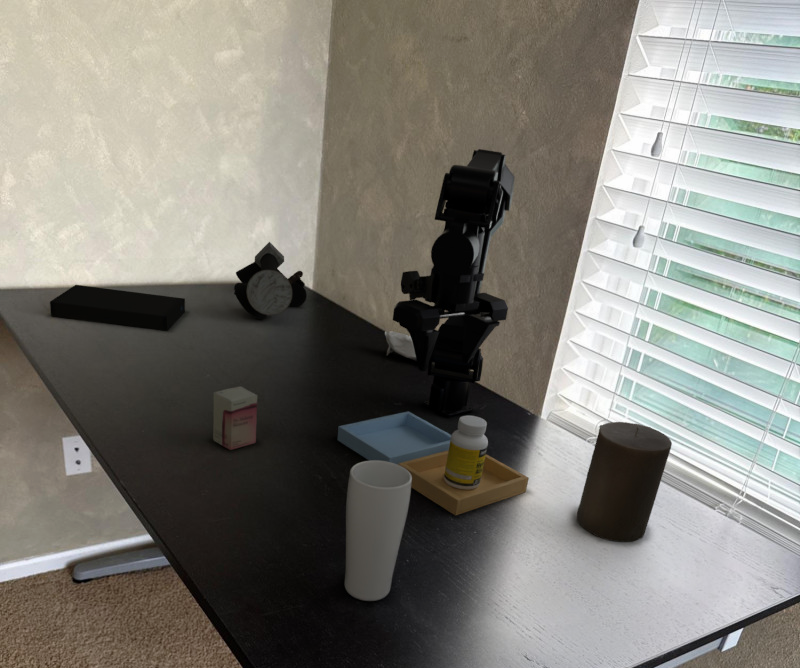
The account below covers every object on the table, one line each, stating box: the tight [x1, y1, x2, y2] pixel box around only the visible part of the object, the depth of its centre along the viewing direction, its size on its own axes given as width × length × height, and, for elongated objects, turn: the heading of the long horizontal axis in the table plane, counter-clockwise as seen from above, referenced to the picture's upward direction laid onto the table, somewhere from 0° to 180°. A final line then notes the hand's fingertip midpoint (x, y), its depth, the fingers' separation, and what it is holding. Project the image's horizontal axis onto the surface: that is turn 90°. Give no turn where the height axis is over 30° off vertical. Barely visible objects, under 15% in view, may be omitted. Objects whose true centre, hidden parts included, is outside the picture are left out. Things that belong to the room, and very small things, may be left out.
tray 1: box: [337, 410, 452, 465], centre depth 128 cm, size 15×13×2 cm
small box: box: [212, 386, 258, 451], centre depth 121 cm, size 5×4×8 cm
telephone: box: [233, 241, 308, 320], centre depth 184 cm, size 15×13×30 cm
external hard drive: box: [49, 284, 186, 332], centre depth 168 cm, size 14×23×3 cm, turn 89°
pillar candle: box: [576, 421, 673, 542], centre depth 111 cm, size 10×10×15 cm
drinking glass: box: [343, 460, 412, 602], centre depth 90 cm, size 7×7×15 cm
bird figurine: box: [384, 329, 417, 362], centre depth 165 cm, size 5×7×10 cm
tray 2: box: [398, 450, 530, 516], centre depth 119 cm, size 15×13×2 cm
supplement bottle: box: [444, 415, 489, 490], centre depth 117 cm, size 5×5×10 cm
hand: (443, 366), depth 125 cm, fingers open, 9 cm apart
